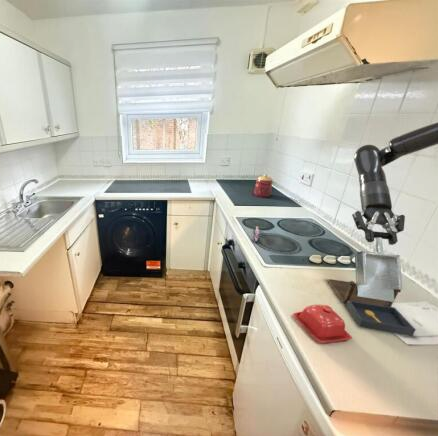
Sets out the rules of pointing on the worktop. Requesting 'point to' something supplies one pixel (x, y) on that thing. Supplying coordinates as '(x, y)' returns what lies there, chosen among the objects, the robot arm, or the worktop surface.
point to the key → (371, 315)
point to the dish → (377, 272)
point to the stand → (349, 293)
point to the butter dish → (323, 323)
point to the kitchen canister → (263, 186)
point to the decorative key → (256, 233)
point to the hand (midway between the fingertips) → (381, 242)
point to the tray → (380, 318)
